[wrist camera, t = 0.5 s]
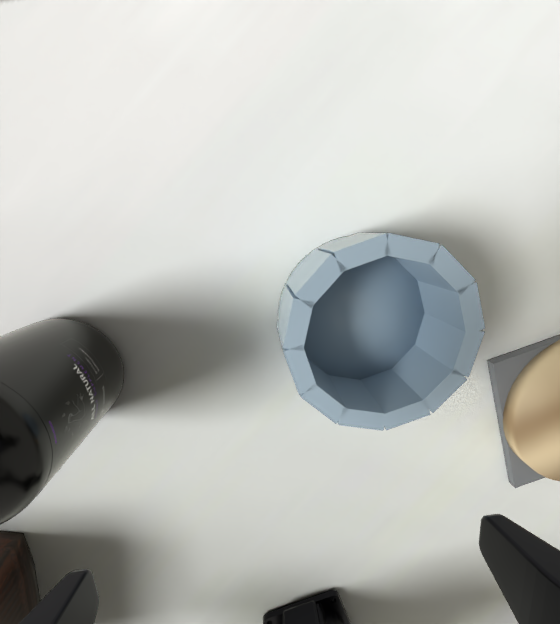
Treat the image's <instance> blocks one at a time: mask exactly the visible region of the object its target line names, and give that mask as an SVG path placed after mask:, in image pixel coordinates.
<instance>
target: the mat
mask: <svg viewBox="0 0 560 624" xmlns="http://www.w3.org/2000/svg"><path fill="white" fill-rule="evenodd" d="M558 340H560V335H558V336H555V337H552V338H549V339H547V340H544V341H541V342H538V343H535V344H532V345H530V346H527V347H524V348H521V349H518V350H516V351H513V352H510V353H507V354H504V355H501V356H499V357H496V358H493V359H490V360H487V362H488V367H489V373H490V379H491V384H492V390H493V395H494V401H495V406H496V412H497V417H498V423H499V428H500V434H501V440H502V445H503V451H504V456H505V462H506V467H507V473H508V478H509V482H510V483H511V484H512V485H513V486H514V487H515V488H517V487H520V486H522V485H525V484H528V483H531V482H534V481H536V480H539V479H542V478H545V477H544V476H542V475H540V474H538V473H537V472H536V471H534V470H533V469H532V468H530V467H529V466H528V465H527V464H526V463H525V462H523V461H522V460H521V459H520V458H519V457H518V456H517V455H516V454H515V453H514V452H513V451H512V449H511V448H510V446H509V444H508V442H507V440H506V437H505V433H504V429H503V412H504V407H505V402H506V399H507V396H508V393H509V391H510V389H511V387H512V385H513V383H514V381H515V380H516V378H517V376H518V375H519V374H520V372H521V371H522V370H523V368H524V367H525V366H526V365H527V364H528V363H529V362H530V361H531V360H532V359H533V358H534V357H535V356H536V355H537V354H538V353H540V352H541V351H542V350H544V349H545V348H547V347H548V346H549V345H551V344H553V343H555V342H556V341H558Z"/></svg>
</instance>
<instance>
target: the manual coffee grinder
mask: <svg viewBox="0 0 560 624" xmlns="http://www.w3.org/2000/svg"><path fill="white" fill-rule="evenodd" d="M39 602H40V599H39V593H38V586H37V580H36V573H35V567H34V562H33V559H32V556H31V554H30V551H29V548H28V545H27V543H26V540H25V537H24V534H23V533H15V532H7V531H0V624H19V623H20V622H21V621H22V619H23V618H24V617H25V616H26V615H27V614H28V613H29V612H30V611H31V610H32V609H33V608H34V607H35V606H36V605H37V604H38V603H39Z"/></svg>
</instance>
